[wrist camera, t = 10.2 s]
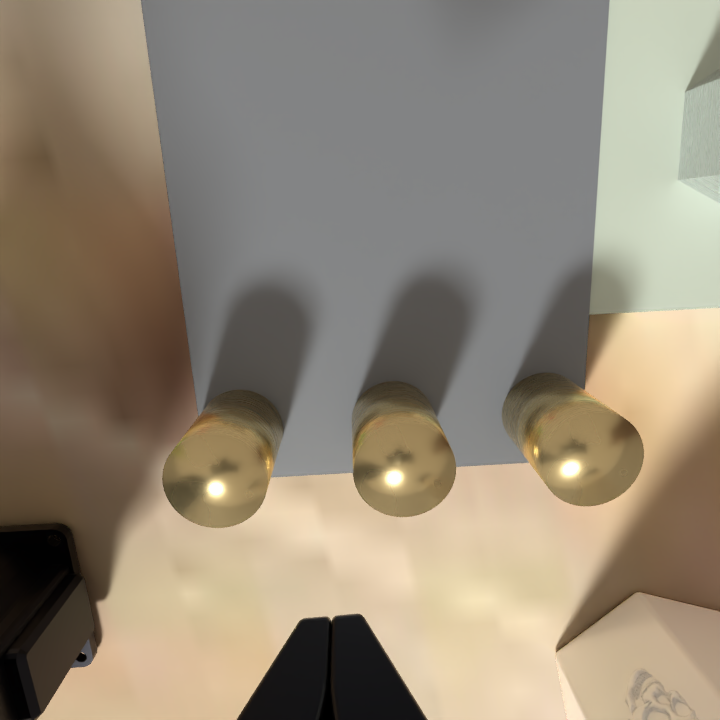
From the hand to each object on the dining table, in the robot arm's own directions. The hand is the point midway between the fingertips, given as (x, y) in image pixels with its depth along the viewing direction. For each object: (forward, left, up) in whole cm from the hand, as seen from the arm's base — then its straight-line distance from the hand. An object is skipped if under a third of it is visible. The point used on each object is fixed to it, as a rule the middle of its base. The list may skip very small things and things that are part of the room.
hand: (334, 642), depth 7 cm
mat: (+13, +7, -13) cm, 19 cm away
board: (+2, +7, -13) cm, 15 cm away
